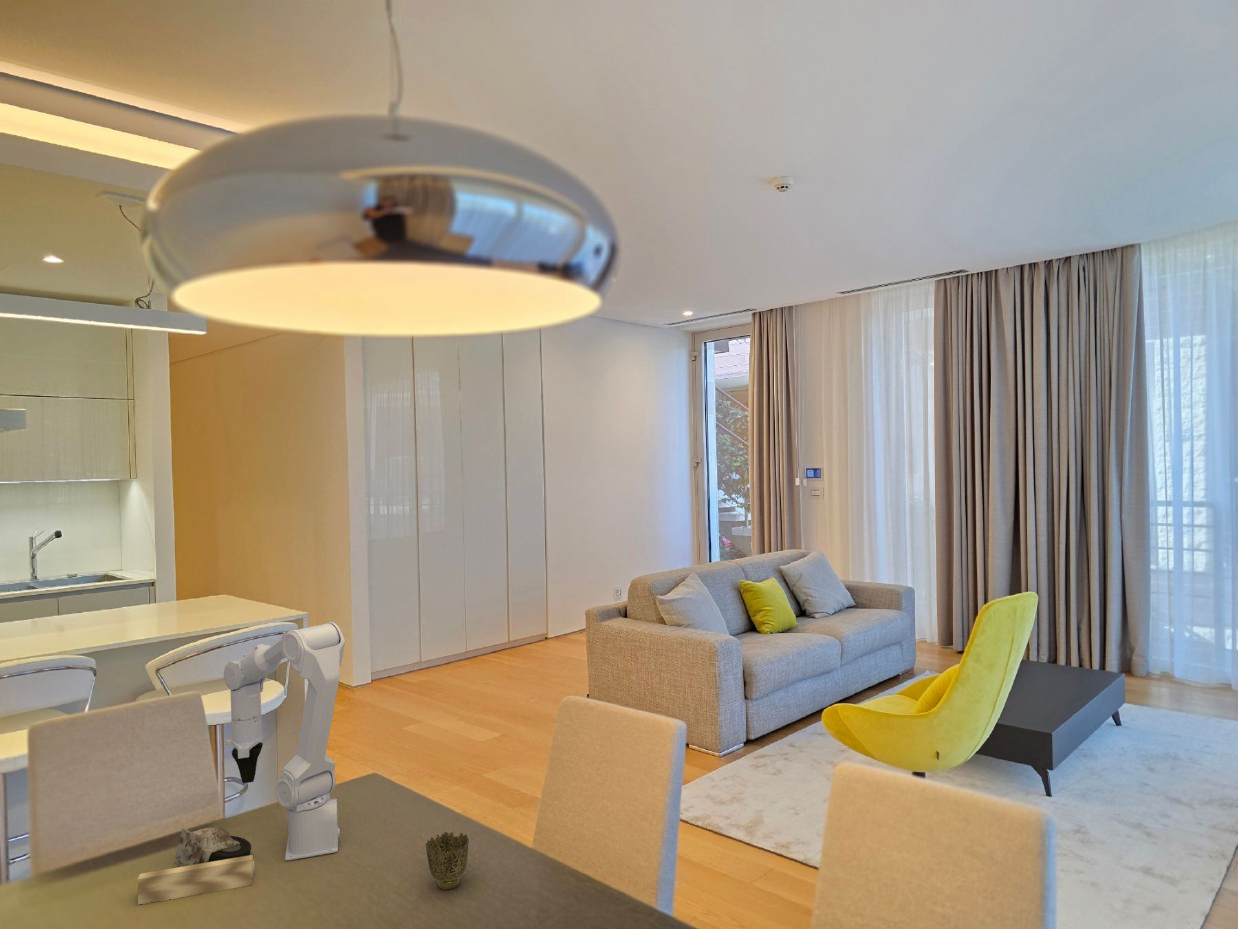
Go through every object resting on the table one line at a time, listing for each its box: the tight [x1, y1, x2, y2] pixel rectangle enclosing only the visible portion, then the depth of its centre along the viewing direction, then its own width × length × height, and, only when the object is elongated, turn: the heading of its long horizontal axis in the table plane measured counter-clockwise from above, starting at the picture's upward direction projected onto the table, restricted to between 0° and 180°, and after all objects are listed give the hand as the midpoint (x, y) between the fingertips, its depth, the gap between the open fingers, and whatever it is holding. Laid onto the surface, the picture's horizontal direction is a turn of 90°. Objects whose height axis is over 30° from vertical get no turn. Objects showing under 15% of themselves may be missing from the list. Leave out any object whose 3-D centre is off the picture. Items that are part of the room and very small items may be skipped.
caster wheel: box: [173, 826, 252, 867], centre depth 155 cm, size 7×11×10 cm
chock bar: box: [137, 854, 256, 906], centre depth 146 cm, size 18×5×4 cm, turn 109°
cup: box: [425, 831, 470, 891], centre depth 144 cm, size 8×7×8 cm
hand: (248, 781), depth 171 cm, fingers closed
